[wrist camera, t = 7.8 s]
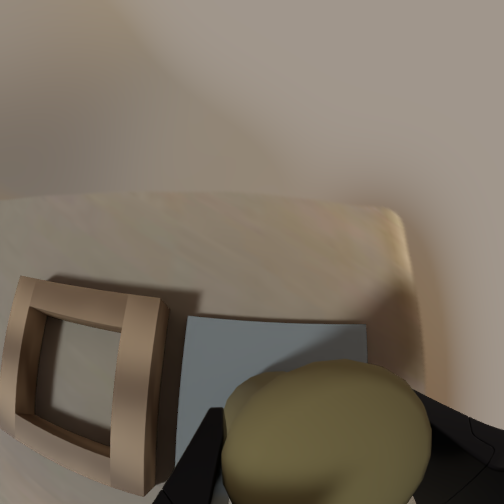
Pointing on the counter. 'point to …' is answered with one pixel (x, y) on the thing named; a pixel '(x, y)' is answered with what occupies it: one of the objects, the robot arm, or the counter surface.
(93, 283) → the counter surface
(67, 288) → the frame
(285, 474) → the cork
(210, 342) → the blue gray mat
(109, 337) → the counter surface
